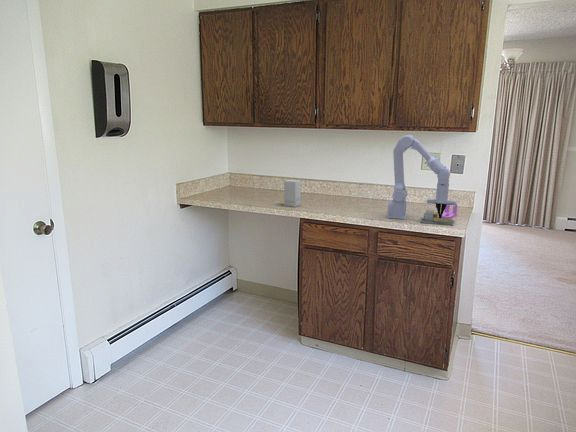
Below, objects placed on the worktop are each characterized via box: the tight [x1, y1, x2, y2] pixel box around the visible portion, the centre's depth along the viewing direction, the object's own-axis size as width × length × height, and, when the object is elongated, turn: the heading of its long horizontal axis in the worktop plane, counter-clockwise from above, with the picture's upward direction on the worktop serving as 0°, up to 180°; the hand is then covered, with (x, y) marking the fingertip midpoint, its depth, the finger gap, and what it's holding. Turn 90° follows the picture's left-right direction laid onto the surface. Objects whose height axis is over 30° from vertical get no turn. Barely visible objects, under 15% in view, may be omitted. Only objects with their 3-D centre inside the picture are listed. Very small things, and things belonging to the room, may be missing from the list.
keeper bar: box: [434, 217, 453, 223], centre depth 222 cm, size 9×1×2 cm, turn 69°
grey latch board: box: [419, 216, 454, 227], centre depth 227 cm, size 16×12×4 cm
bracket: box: [441, 203, 458, 219], centre depth 239 cm, size 13×6×7 cm, turn 145°
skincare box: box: [283, 179, 302, 208], centre depth 263 cm, size 8×7×16 cm
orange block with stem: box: [423, 211, 439, 218], centre depth 229 cm, size 7×5×3 cm
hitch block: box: [420, 209, 435, 221], centre depth 229 cm, size 12×6×5 cm, turn 69°
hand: (440, 218), depth 228 cm, fingers closed
